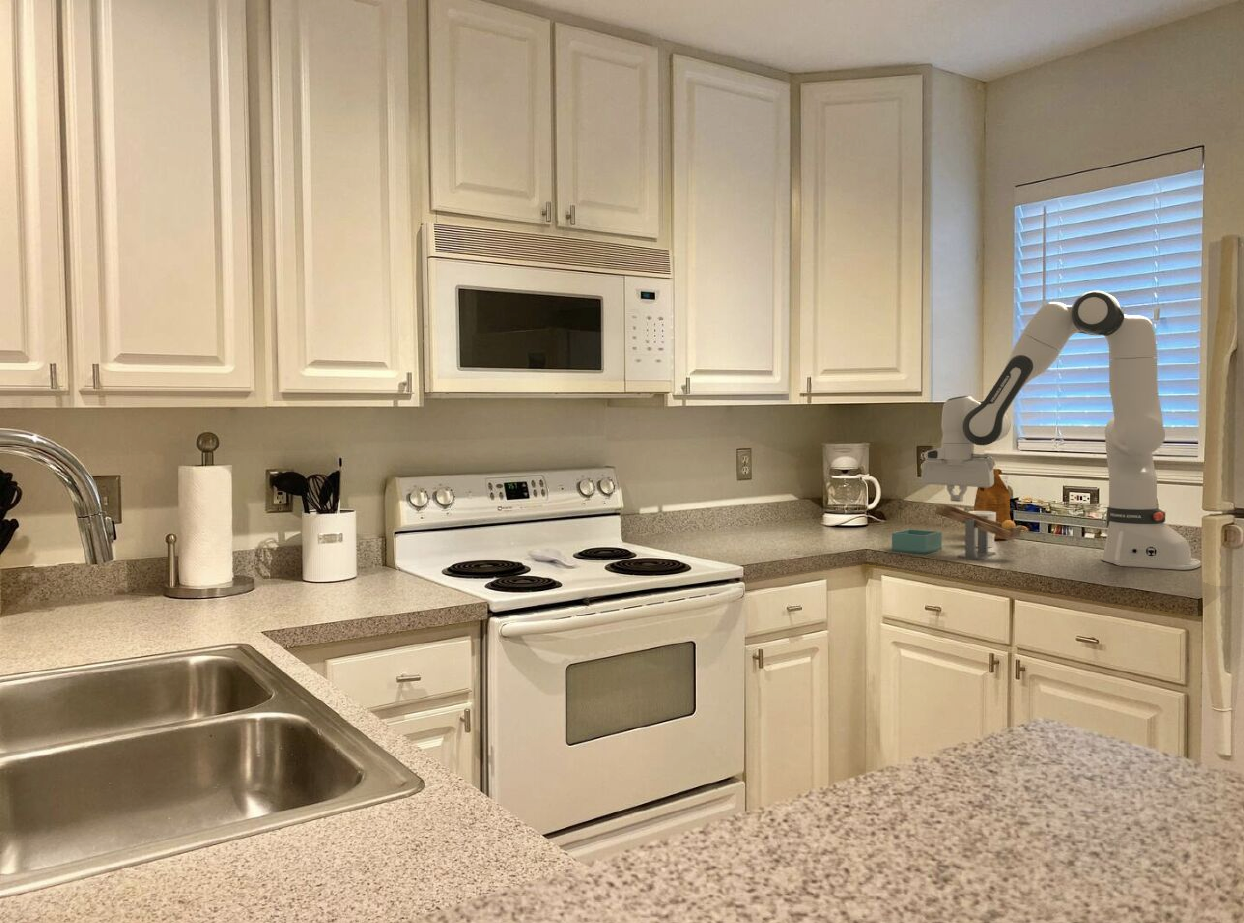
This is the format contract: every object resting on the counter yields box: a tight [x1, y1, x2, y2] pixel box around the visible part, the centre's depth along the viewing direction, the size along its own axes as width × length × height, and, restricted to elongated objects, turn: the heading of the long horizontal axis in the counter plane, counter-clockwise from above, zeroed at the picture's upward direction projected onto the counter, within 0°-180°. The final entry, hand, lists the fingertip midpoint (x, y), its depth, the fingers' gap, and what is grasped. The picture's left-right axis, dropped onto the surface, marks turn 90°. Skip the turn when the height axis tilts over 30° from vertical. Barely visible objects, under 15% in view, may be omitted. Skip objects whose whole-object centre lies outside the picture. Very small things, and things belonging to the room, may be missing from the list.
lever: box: [934, 504, 1023, 541], centre depth 263 cm, size 22×13×3 cm, turn 47°
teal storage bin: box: [891, 528, 943, 555], centre depth 273 cm, size 10×10×5 cm
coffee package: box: [973, 468, 1012, 541], centre depth 293 cm, size 10×12×22 cm
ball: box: [1002, 519, 1017, 531], centre depth 255 cm, size 4×4×4 cm
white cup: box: [968, 510, 996, 549], centre depth 278 cm, size 8×8×10 cm
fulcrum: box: [957, 516, 996, 561], centre depth 261 cm, size 6×11×11 cm, turn 137°
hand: (956, 501), depth 271 cm, fingers closed
